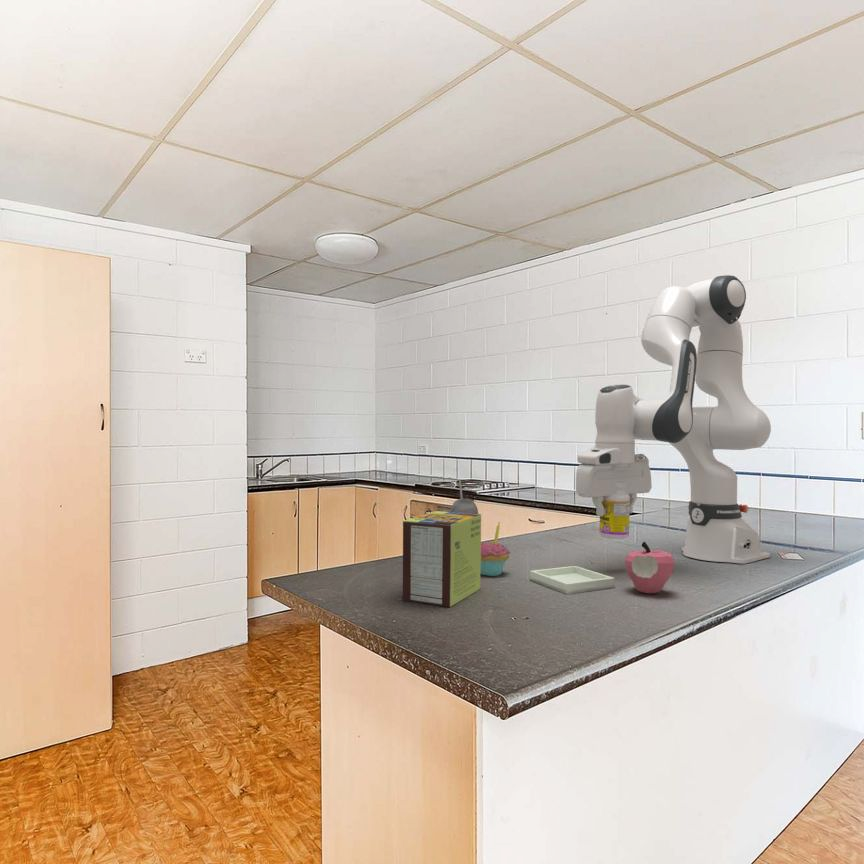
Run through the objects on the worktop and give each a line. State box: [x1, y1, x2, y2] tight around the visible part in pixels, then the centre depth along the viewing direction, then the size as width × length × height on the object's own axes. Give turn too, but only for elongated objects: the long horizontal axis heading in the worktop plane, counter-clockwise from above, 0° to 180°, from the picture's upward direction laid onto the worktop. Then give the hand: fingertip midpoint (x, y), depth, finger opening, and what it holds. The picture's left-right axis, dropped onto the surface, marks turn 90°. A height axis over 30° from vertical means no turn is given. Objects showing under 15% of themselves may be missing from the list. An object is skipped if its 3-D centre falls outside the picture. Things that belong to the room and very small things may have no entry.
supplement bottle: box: [599, 482, 630, 540], centre depth 147 cm, size 7×7×13 cm
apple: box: [624, 541, 675, 595], centre depth 129 cm, size 10×9×10 cm
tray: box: [529, 565, 616, 595], centre depth 135 cm, size 13×13×2 cm
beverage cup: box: [449, 479, 479, 514], centre depth 157 cm, size 7×7×20 cm
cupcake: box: [480, 521, 511, 577], centre depth 144 cm, size 9×8×12 cm
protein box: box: [402, 510, 482, 608], centre depth 126 cm, size 10×15×16 cm
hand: (614, 514), depth 147 cm, fingers closed on supplement bottle, 7 cm apart
